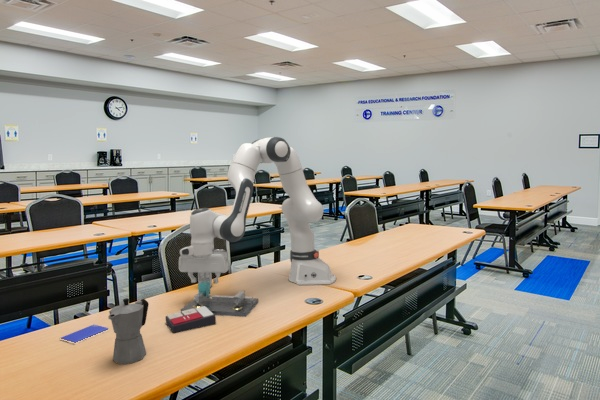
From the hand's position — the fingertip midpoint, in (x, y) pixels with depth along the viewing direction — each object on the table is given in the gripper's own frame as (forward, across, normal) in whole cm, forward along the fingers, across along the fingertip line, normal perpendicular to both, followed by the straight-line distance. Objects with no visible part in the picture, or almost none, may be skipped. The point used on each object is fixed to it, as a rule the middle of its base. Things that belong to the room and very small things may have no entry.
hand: (204, 282), depth 173 cm
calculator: (+9, -3, +20) cm, 22 cm away
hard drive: (+9, +28, +35) cm, 46 cm away
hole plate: (+9, -8, +3) cm, 12 cm away
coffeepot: (+8, +3, +46) cm, 47 cm away
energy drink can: (+9, +9, -21) cm, 24 cm away
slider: (+7, 0, +3) cm, 7 cm away
